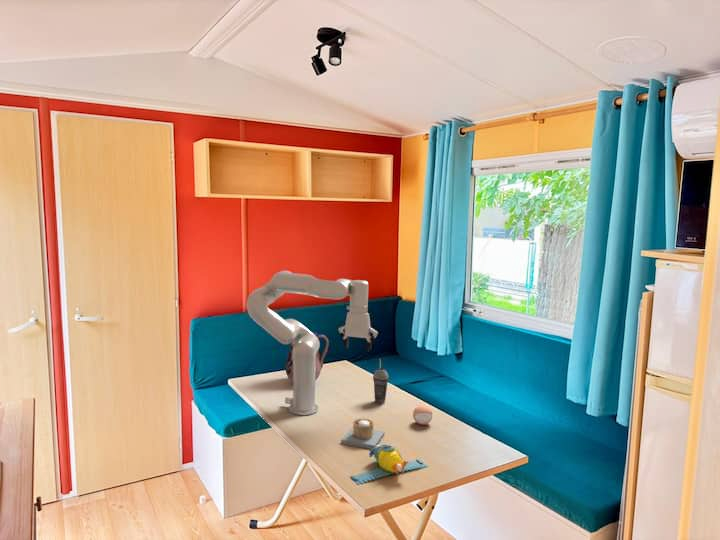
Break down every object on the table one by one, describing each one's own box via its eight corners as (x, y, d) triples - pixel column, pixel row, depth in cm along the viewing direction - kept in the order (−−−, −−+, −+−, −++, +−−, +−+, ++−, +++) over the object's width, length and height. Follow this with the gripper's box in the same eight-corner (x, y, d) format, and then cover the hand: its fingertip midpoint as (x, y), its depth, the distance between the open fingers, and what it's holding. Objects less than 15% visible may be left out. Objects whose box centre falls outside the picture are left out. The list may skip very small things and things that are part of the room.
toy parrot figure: (363, 465, 154) (341, 445, 167) (362, 492, 155) (340, 470, 168) (436, 447, 167) (410, 431, 181) (435, 472, 168) (410, 454, 181)
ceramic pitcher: (283, 377, 258) (284, 330, 256) (324, 375, 263) (325, 329, 261) (287, 389, 241) (288, 338, 239) (330, 387, 247) (331, 337, 244)
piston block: (341, 443, 186) (341, 426, 186) (353, 429, 199) (353, 413, 198) (374, 449, 182) (375, 432, 182) (384, 435, 194) (385, 419, 194)
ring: (350, 437, 188) (350, 424, 187) (357, 429, 195) (357, 417, 194) (369, 441, 186) (369, 428, 185) (375, 433, 193) (375, 420, 192)
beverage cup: (376, 406, 224) (378, 362, 222) (369, 400, 230) (370, 358, 228) (390, 403, 227) (392, 361, 225) (382, 398, 234) (384, 356, 231)
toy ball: (415, 428, 202) (416, 409, 201) (410, 420, 210) (411, 402, 209) (434, 427, 203) (435, 408, 202) (428, 419, 211) (429, 401, 210)
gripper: (336, 309, 209) (335, 349, 211) (375, 313, 203) (374, 354, 205) (342, 306, 216) (341, 345, 218) (380, 310, 210) (379, 349, 212)
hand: (357, 349), depth 212 cm, fingers open, 9 cm apart
